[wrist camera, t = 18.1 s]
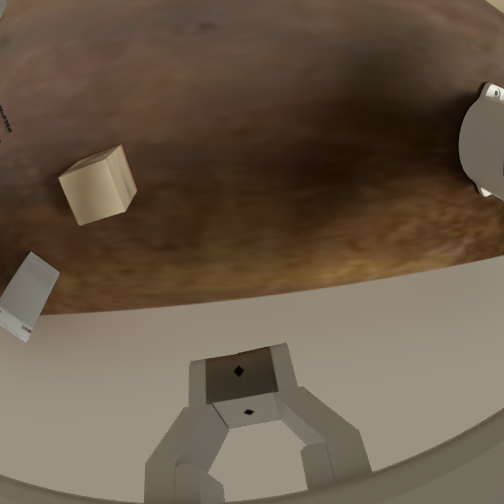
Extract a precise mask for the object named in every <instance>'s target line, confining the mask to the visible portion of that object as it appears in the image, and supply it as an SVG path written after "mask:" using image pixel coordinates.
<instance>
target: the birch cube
mask: <svg viewBox="0 0 504 504" xmlns="http://www.w3.org/2000/svg"><path fill="white" fill-rule="evenodd" d="M59 181H60V183H61V185H62V188H63V190H64V193H65V195H66V197H67V200H68V202H69V204H70V206H71V209H72V211H73V213H74V215H75V217H76V220H77V222H78V224H79V226H81V225H84V224H87V223H90V222H93V221H96V220H100V219H103V218H106V217H109V216H112V215H116V214H119V213H122V212H126V210H127V208H128V206H129V204H130V202H131V201H132V199H133V197H134V195H135V193H136V192H137V188H136V185H135V182H134V180H133V177H132V174H131V171H130V168H129V166H128V163H127V160H126V157H125V154H124V151H123V148H122V145H119V146H116V147H113V148H111V149H108V150H105V151H102V152H100V153H97V154H95V155H92V156H89V157H87V158H84V159H82V160H80V161H78V162H77V163H75V164H74V165H73V166H72V167H71V168H69V169H68V170H67V171H66V172H65V173H63V174H62V175H61V176H60V177H59Z"/></svg>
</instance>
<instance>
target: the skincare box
mask: <svg viewBox="0 0 504 504" xmlns="http://www.w3.org/2000/svg"><path fill="white" fill-rule="evenodd" d="M59 275H60V272H59V271H57V270H56V269H54V268H53V267H52V266H50V265H49V264H48V263H46V262H45V261H43V260H42V259H41V258H39V257H38V256H37V255H35V254H34V253H33V252H30V253H29V255H28V256H27V257H26V259H25V260H24V262H23V263H22V265H21V266H20V268H19V269H18V270H17V272H16V273H15V275H14V277H13V278H12V280H11V281H10V283H9V284H8V286H7V288H6V289H5V291H4V293H3V294H2V296H1V298H0V325H1V326H2V327H4V328H5V329H7V330H8V331H9V332H11V333H12V334H14V335H15V336H17V337H18V338H20V339H21V340H23V341H24V342H27V341H28V339H29V337H30V334H31V333H32V331H33V329H34V327H35V324H36V322H37V320H38V317H39V315H40V313H41V311H42V309H43V307H44V305H45V303H46V300H47V298H48V296H49V294H50V292H51V290H52V288H53V286H54V284H55V282H56V280H57V279H58V277H59Z"/></svg>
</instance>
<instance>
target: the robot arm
mask: <svg viewBox="0 0 504 504" xmlns="http://www.w3.org/2000/svg"><path fill="white" fill-rule="evenodd" d="M459 156H460V161H461V164H462V167H463V169H464V171H465V173H466V174H467V176H468V177H469V178H470V179H472V180H473V181H474V182H475V183H476V185H477V188H478V191H479V193H480V194H481V195H483V196H489V195H491V194H493V195H495V196H497V197H498V198H500V199H502V200H503V201H504V89H503V88H500V87H498V86H496V85H494V84H491V83H486V84H485V86H484V88H483V90H482V92H481V95H480V97H479V98H478V100H477V101H476V102H475V103H474V104H473V105H472V106H471V107H470V108H469V110H468V112H467V113H466V115H465V117H464V120H463V123H462V126H461V130H460V136H459ZM280 419H281V420H282V421H283V422H284V423H285V424H286V425H287V426H288V427H289V428H290V429H291V430H292V431H293V432H294V433H295V434H296V435H297V436H298V437H299V438H300V439H301V440H302V441H303V442H304V443H305V444H306V445H307V446H304V447H303V449H302V450H301V457H302V461H303V467H304V472H305V477H306V482H307V488H308V490H305V491H300V492H295V493H290V494H285V495H279V496H273V497H266V498H259V499H252V500H243V501H234V502H225V498H224V489H223V485H222V484H221V483H220V482H219V481H217V480H216V479H214V478H213V477H211V476H210V475H209V474H208V471H209V470H210V468H211V466H212V464H213V461H214V460H215V458H216V456H217V454H218V452H219V450H220V448H221V446H222V444H223V442H224V440H225V438H226V435H227V434H228V432H229V429H230V428H236V427H241V426H247V425H252V424H258V423H264V422H270V421H276V420H280ZM0 504H504V408H503V409H501V410H499V411H498V412H496V413H495V414H493V415H492V416H491V417H488V418H487V419H485V420H484V421H482V422H480V423H478V424H477V425H475V426H473V427H471V428H470V429H468V430H466V431H464V432H462V433H461V434H459V435H457V436H455V437H453V438H451V439H449V440H447V441H445V442H443V443H441V444H439V445H437V446H435V447H433V448H431V449H428V450H426V451H424V452H422V453H420V454H417V455H415V456H413V457H410V458H408V459H406V460H403V461H400V462H398V463H395V464H393V465H390V466H387V467H385V468H382V469H379V470H376V471H373V472H372V470H371V466H370V463H369V460H368V457H367V454H366V451H365V448H364V445H363V441H362V438H361V435H360V432H359V430H358V429H356V428H355V427H354V426H352V425H351V424H350V423H348V422H347V421H346V420H344V419H343V418H342V417H341V416H339V415H338V414H337V413H335V412H334V411H333V410H332V409H330V408H329V407H328V406H327V405H325V404H324V403H323V402H321V401H320V400H319V399H318V398H317V397H315V396H314V395H313V394H311V393H310V392H309V391H308V390H307V389H305V388H304V387H298V386H297V382H296V378H295V374H294V369H293V366H292V362H291V358H290V354H289V350H288V346H287V343H282V344H278V345H274V346H271V347H270V346H268V347H264V348H259V349H255V350H250V351H246V352H241V353H238V354H234V355H228V356H222V357H216V358H209V359H203V360H196V361H191V363H190V366H189V407H184V408H183V410H182V411H181V413H180V414H179V416H178V417H177V418H176V420H175V421H174V423H173V424H172V426H171V427H170V429H169V430H168V432H167V433H166V434H165V436H164V437H163V439H162V440H161V442H160V443H159V445H158V446H157V447H156V449H155V450H154V452H153V453H152V455H151V456H150V457H149V459H148V460H147V462H146V463H145V490H144V503H137V502H136V503H135V502H125V501H115V500H107V499H100V498H92V497H87V496H80V495H75V494H70V493H65V492H60V491H56V490H52V489H48V488H43V487H40V486H36V485H32V484H29V483H25V482H22V481H19V480H16V479H12V478H9V477H6V476H4V475H1V474H0Z"/></svg>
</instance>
